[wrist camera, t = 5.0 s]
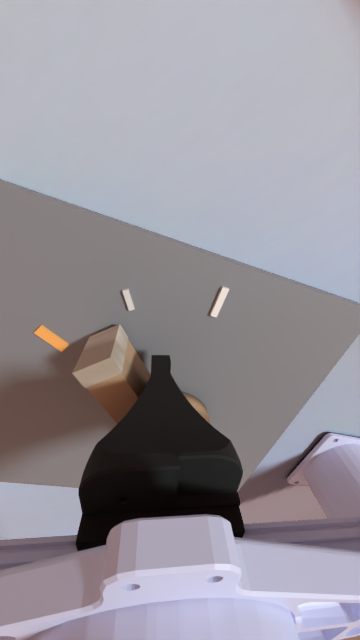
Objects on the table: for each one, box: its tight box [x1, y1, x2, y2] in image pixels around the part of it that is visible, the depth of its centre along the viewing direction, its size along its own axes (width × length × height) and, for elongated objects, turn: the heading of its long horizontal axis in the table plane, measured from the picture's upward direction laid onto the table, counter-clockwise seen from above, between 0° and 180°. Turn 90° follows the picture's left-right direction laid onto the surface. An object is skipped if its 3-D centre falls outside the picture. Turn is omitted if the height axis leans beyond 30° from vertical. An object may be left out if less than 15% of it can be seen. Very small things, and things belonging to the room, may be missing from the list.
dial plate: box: [0, 179, 360, 492], centre depth 17 cm, size 22×22×2 cm
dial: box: [72, 324, 210, 424], centre depth 14 cm, size 12×6×3 cm, turn 23°
